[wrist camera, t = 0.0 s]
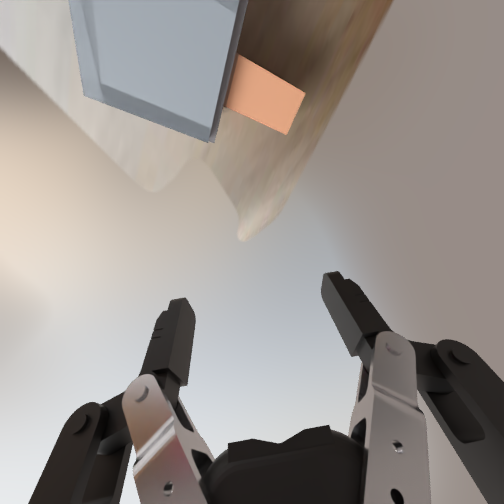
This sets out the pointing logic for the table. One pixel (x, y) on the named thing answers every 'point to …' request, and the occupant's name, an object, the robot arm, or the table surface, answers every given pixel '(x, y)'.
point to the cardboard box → (262, 95)
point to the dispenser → (159, 58)
